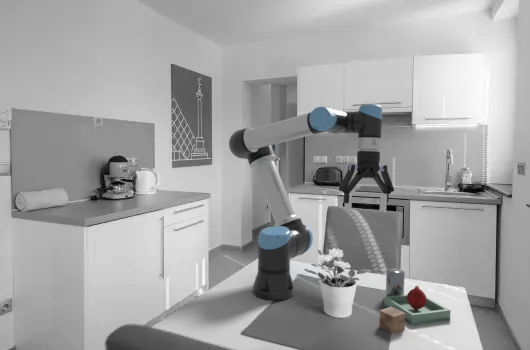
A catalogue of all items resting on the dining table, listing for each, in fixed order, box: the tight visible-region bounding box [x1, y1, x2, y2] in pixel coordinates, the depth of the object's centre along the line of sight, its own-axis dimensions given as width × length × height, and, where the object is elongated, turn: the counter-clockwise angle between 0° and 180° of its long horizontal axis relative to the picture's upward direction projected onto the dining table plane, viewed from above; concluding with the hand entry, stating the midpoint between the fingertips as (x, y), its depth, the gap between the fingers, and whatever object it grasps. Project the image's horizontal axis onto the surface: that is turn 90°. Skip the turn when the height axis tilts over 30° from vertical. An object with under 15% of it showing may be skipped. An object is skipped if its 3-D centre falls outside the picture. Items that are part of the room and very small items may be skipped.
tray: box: [383, 293, 451, 326], centre depth 114 cm, size 14×14×3 cm
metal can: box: [385, 268, 406, 297], centre depth 125 cm, size 6×6×10 cm
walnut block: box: [378, 307, 406, 335], centre depth 104 cm, size 5×5×5 cm
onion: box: [407, 285, 427, 310], centre depth 114 cm, size 6×6×8 cm
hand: (365, 212), depth 121 cm, fingers open, 13 cm apart
